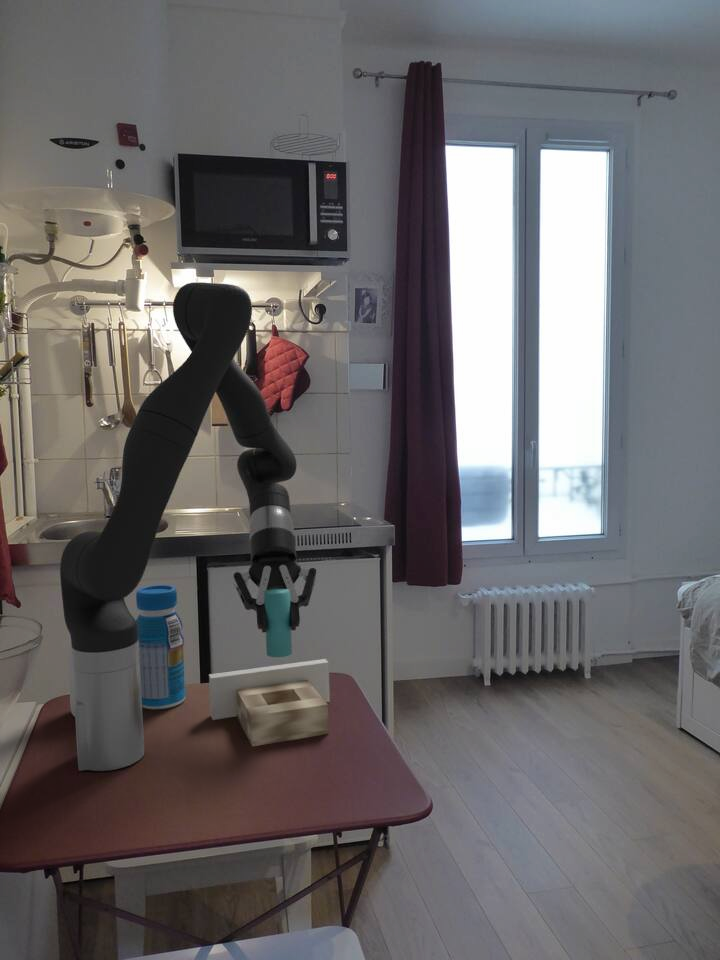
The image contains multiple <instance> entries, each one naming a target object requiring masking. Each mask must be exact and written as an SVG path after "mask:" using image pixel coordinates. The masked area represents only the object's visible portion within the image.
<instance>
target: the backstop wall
mask: <svg viewBox="0 0 720 960" xmlns="http://www.w3.org/2000/svg"><path fill="white" fill-rule="evenodd" d="M329 665H330V663H329V661H328V660H327V659H326V658H322V659H315V660H307V661H306V660H305V661H299V662H292V663H283V664H277V665H269V666H262V667H261V666H260V667H255V668H249V669H248V668H246V669H240V670H233V671H226V672H224V671H223V672H217V673H209V674H208V679H209V680H208V681H209V685H208V686H209V702H210V703H209V706H210V717H211V720H212V721H215V720H222V719H228V718H233V717H235V718H236V717H238V715H237V689H245V688H252V687H259V686H266V685H273V684H281V683H288V682H295V681H302V680H308V681H309V682H310V684H311V685H312V686H313V687H314V688H315V690H316V691H317V692H318V693H319V694H320V696H321V697H322V698H323V699H324V700H325V702H326V703H327V704H328V703H330V700H331V699H330V698H331V695H330V668H329V667H330V666H329Z"/></svg>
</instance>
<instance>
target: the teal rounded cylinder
mask: <svg viewBox="0 0 720 960" xmlns="http://www.w3.org/2000/svg"><path fill="white" fill-rule="evenodd" d="M264 600H265V609H266V625H267V632H265V644H266V645H265V648H266V656H267V657H271V658H284V657H288V656H291V655H292V653H293V651H292V650H293V649H292V648H293V646H292V645H293V644H292V631H291V619H290V590H288V589H284V588H275V589H269V590H266V591H264Z"/></svg>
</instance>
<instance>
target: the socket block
mask: <svg viewBox="0 0 720 960" xmlns="http://www.w3.org/2000/svg"><path fill="white" fill-rule="evenodd" d="M237 715H238V716H237V719H238V721H239V724H240V725H241V728H242V730H243V731H244V733H245V735H246V737H247V739H248V741H249V743H250V745H251V747H257V746H262V745H268V744H275V743H281V742H287V741H294V740H300V739H305V738H311V737H317V736H323V735H329V734H330V732H329V704H328V702H327V703H326V702H325V700H324V699H323V698H322V697H321V696H320V694H319V693H318V692H317V691H316V690H315V688H314V687H313V686H312V685H311V684H310V682H309V681H308V680H302V681H295V682H288V683H281V684H273V685H266V686H259V687H252V688H245V689H237Z"/></svg>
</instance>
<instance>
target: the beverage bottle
mask: <svg viewBox="0 0 720 960" xmlns="http://www.w3.org/2000/svg"><path fill="white" fill-rule="evenodd" d="M177 591H178V590H177V589H176V587H175V586H173V585H167V584H161V585H160V584H157V585H155V584H154V585H149V586H144V587H141V588H139V589H137V590H136V594H135V597H136V598H135V599H136V600H135V603H136V608H137V610H138V611H139V612H140V613H139V615H138V616H137V618H136V619H135V620H136V622H137V625H138V640H139V660H140V678H141V697H142V709H147V710H164V709H170V708H173V707H177V706H179V705H180V704H182V703H183V702H184V701H185V700H186V687H185V684H186V683H185V660H184V659H185V657H184V645H185V639H184V638H185V637H184V635H183V634H182V630H183V622H182V620H181V618H180V615H179V614H178V612H177V611H175V608H177V606H178V605H177V604H178V596H177V595H178V594H177V593H178V592H177Z"/></svg>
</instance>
